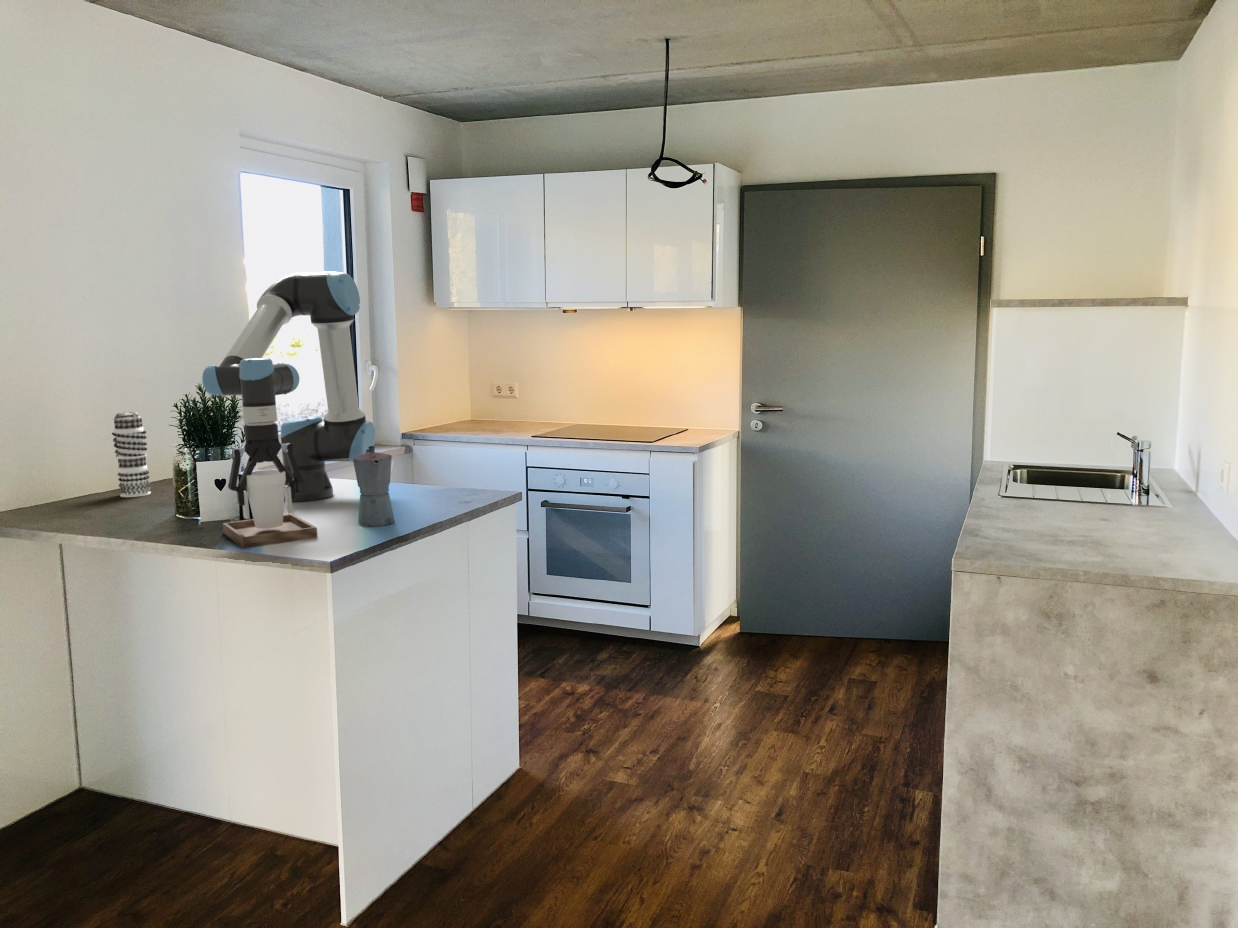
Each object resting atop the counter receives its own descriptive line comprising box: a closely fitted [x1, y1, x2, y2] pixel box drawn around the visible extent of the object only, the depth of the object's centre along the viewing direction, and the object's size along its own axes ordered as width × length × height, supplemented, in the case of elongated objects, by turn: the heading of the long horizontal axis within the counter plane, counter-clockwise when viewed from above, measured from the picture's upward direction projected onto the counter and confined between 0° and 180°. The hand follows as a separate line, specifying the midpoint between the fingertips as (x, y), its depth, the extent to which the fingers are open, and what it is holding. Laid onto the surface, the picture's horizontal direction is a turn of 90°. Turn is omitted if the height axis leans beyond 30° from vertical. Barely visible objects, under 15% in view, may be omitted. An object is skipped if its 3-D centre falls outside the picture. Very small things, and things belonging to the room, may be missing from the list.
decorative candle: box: [111, 411, 152, 498], centre depth 289 cm, size 9×9×25 cm
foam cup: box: [245, 468, 286, 528], centre depth 231 cm, size 10×9×13 cm
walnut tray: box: [222, 513, 318, 549], centre depth 233 cm, size 17×20×2 cm
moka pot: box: [352, 445, 395, 527], centre depth 243 cm, size 10×15×20 cm, turn 27°
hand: (268, 515), depth 232 cm, fingers closed on foam cup, 9 cm apart
